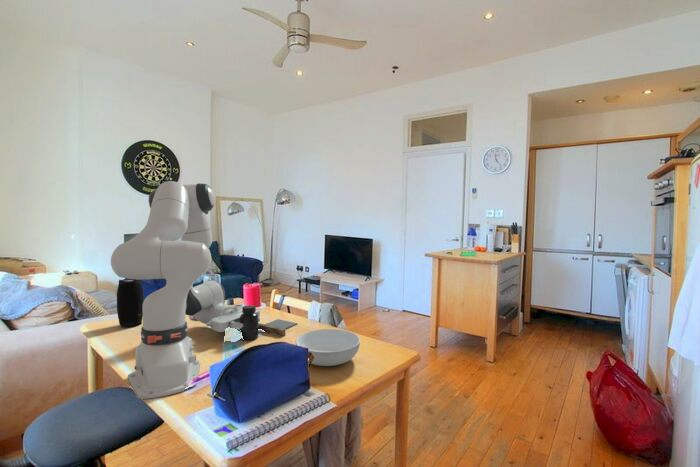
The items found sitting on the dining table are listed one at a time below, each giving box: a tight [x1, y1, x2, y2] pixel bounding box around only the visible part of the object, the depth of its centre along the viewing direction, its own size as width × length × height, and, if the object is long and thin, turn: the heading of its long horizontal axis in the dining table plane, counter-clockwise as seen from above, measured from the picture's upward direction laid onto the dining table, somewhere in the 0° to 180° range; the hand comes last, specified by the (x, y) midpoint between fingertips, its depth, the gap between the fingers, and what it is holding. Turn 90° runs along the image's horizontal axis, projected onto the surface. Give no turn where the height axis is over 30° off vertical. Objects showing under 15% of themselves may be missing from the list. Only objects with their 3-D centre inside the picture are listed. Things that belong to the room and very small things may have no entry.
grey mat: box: [264, 318, 298, 331], centre depth 145 cm, size 11×11×1 cm
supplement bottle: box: [239, 305, 259, 342], centre depth 130 cm, size 7×7×12 cm
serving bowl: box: [295, 328, 361, 367], centre depth 111 cm, size 21×21×7 cm
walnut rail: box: [258, 322, 286, 338], centre depth 137 cm, size 20×2×2 cm, turn 60°
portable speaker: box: [116, 278, 145, 329], centre depth 143 cm, size 9×9×20 cm
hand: (250, 322), depth 129 cm, fingers closed on supplement bottle, 7 cm apart
